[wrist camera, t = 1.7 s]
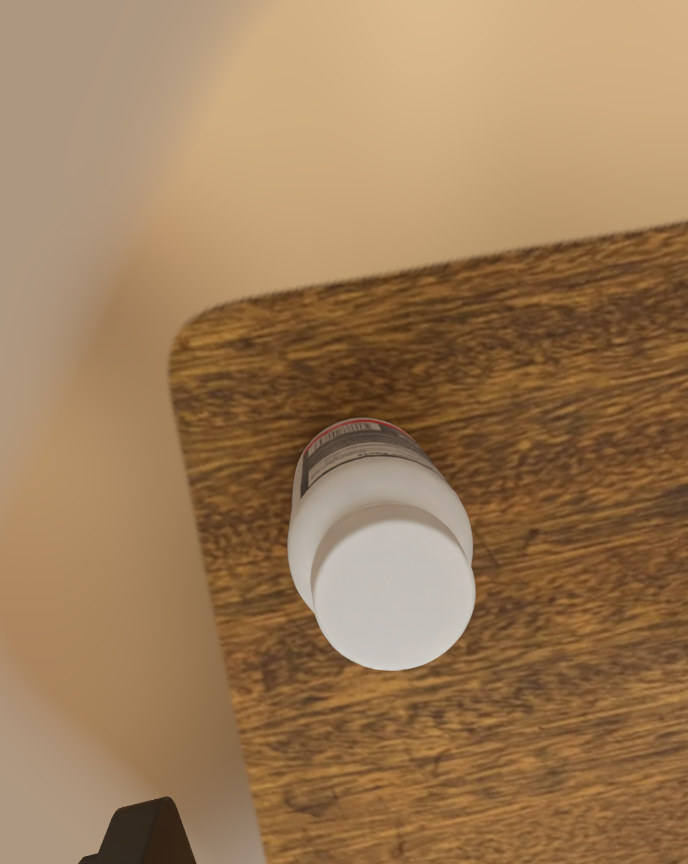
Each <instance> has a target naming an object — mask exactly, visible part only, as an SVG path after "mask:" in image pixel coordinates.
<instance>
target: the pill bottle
mask: <svg viewBox="0 0 688 864" xmlns="http://www.w3.org/2000/svg"><path fill="white" fill-rule="evenodd" d="M287 544H288V561H289V566H290V571H291V575H292V578H293V581H294V584H295V586H296V588H297V590H298V592H299V594H300V595H301V597H302V598H303V600H304V602H305V603H306V604H307V605H308V607H309V608H310V609H311V610H312V611H313V612H314V613H315V616H316V619H317V622H318V624H319V626H320V628H321V631H322V632H323V634H324V635H325V637H326V638H327V640H328V641H329V642H330V644H331V645H332V646H333V647H334V648H335V649H336V650H337V651H338V652H340V653H341V654H342V655H343V656H345V657H346V658H348V659H350V660H351V661H353V662H356V663H358V664H360V665H362V666H365V667H368V668H372V669H378V670H391V671H396V670H403V669H410V668H414V667H417V666H421V665H424V664H426V663H428V662H430V661H432V660H434V659H436V658H437V657H439V656H440V655H442V654H443V653H444V652H446V651H447V650H448V649H449V648H450V647H451V646H452V645H453V644H454V643H455V642H456V641H457V640H458V639H459V637H460V636H461V635H462V633H463V632H464V630H465V628H466V627H467V624H468V622H469V620H470V618H471V615H472V612H473V608H474V603H475V591H476V590H475V580H474V575H473V571H472V568H471V563H472V555H473V540H472V531H471V526H470V522H469V519H468V516H467V513H466V511H465V509H464V507H463V505H462V503H461V501H460V499H459V497H458V495H457V494H456V492H455V491H454V490H453V489H452V487H451V486H450V485H449V484H448V482H447V481H446V480H445V478H444V477H443V476H442V474H441V473H440V472H439V471H438V469H437V468H436V466H435V465H434V464H433V462H432V461H431V459H430V458H429V457H428V456H427V455H426V453H425V452H424V451H423V450H422V449H421V447H420V446H419V445H418V444H417V443H416V441H415V440H414V439H413V438H412V437H411V436H410V435H408V434H407V433H406V432H405V431H403V430H402V429H400V428H399V427H397V426H395V425H393V424H391V423H389V422H386V421H383V420H379V419H374V418H352V419H347V420H343V421H340V422H337V423H335V424H333V425H331V426H329V427H328V428H326V429H324V430H323V431H322V432H320V433H319V434H318V435H317V436H315V437H314V438H313V439H312V440H311V442H310V443H309V444H308V445H307V447H306V448H305V450H304V451H303V453H302V455H301V457H300V459H299V462H298V464H297V467H296V471H295V476H294V482H293V490H292V505H291V517H290V523H289V530H288V538H287Z"/></svg>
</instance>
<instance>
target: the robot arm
mask: <svg viewBox="0 0 688 864" xmlns="http://www.w3.org/2000/svg"><path fill="white" fill-rule="evenodd" d="M78 864H196V861H195V858H194V856H193V853H192V850H191V847H190V844H189V841H188V838H187V836H186V833H185V830H184V827H183V824H182V821H181V819H180V816H179V813H178V810H177V807H176V805H175V803H174V801H173V800H172V799H171V798H170V797H163V798H159V799H155V800H150V801H146V802H142V803H139V804H134V805H130V806H126V807H122V808H119V809H118V810H117V811H116V812H115V813H114V815H113V817H112V819H111V822H110V824H109V827H108V829H107V832H106V835H105V837H104V840H103V842H102V845H101V847H100V850H99V852H98V854H94V855H90V856H85V857H83V858H82V860H81V861H80V862H79V863H78Z"/></svg>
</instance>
